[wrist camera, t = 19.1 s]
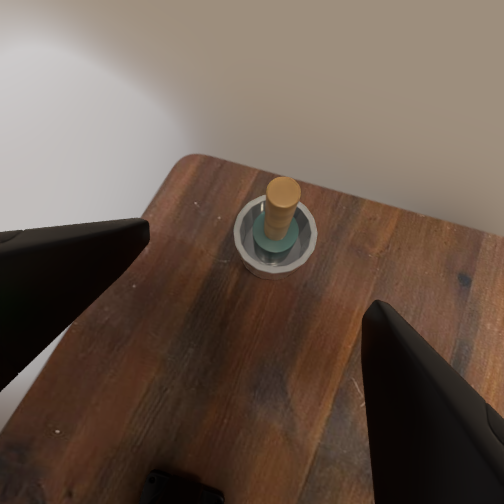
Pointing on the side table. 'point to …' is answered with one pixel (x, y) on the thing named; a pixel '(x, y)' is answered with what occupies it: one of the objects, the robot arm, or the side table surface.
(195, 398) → the side table surface
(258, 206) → the white cylindrical cup
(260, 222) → the brush
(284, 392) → the side table surface
